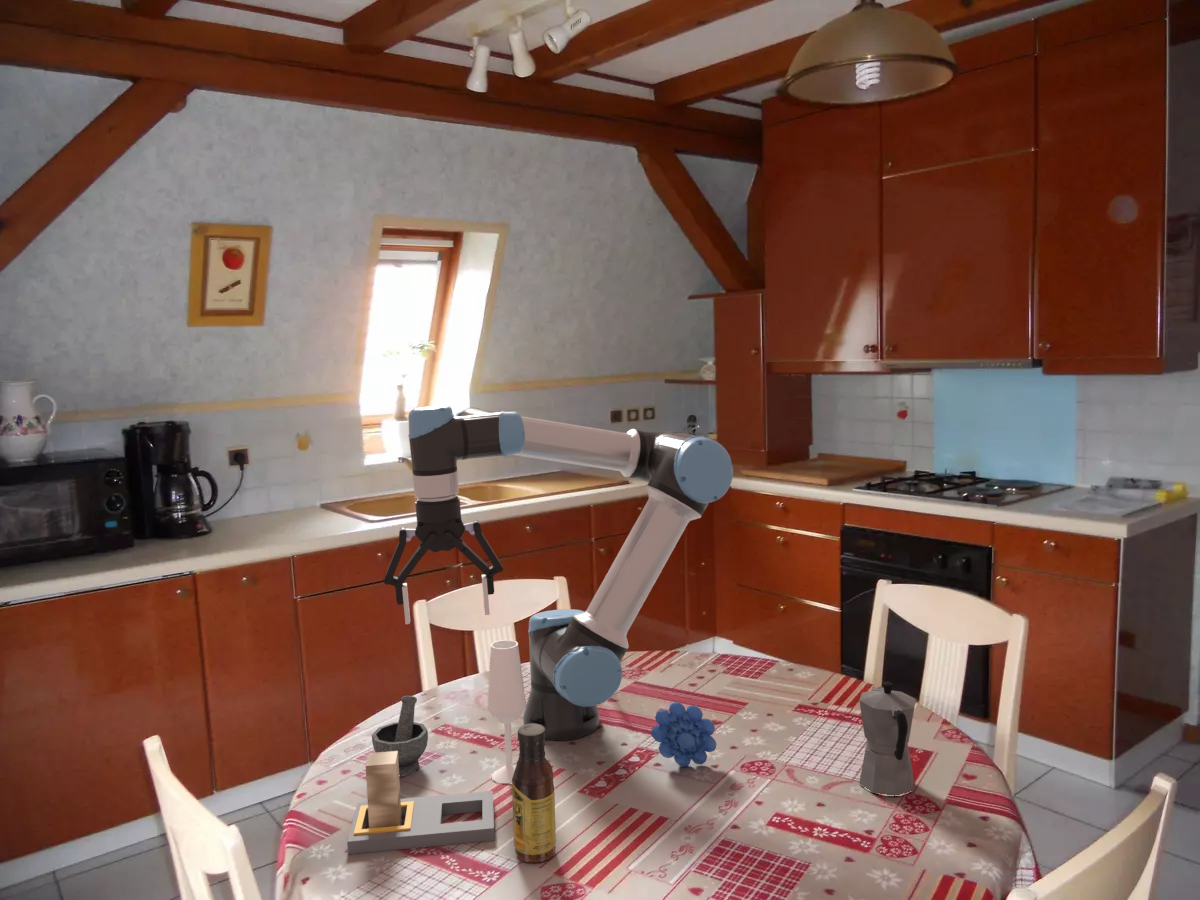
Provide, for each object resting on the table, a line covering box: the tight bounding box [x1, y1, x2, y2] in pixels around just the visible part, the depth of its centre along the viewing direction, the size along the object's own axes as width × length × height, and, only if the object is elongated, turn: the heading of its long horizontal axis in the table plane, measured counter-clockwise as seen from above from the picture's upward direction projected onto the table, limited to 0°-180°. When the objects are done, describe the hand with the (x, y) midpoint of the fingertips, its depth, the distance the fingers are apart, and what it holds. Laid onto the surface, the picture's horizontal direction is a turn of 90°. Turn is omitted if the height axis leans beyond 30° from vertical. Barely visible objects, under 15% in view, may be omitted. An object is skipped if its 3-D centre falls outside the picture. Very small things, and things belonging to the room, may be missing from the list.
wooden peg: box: [365, 751, 403, 829], centre depth 145 cm, size 4×4×12 cm
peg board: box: [346, 790, 496, 855], centre depth 147 cm, size 22×12×2 cm, turn 97°
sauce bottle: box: [511, 724, 557, 864], centre depth 137 cm, size 6×6×20 cm
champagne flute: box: [487, 639, 527, 783], centre depth 162 cm, size 7×7×24 cm
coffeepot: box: [858, 681, 917, 796], centre depth 154 cm, size 15×9×18 cm, turn 0°
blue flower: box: [650, 701, 717, 768], centre depth 163 cm, size 12×7×12 cm, turn 93°
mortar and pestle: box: [371, 695, 429, 777], centre depth 167 cm, size 11×9×12 cm
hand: (447, 617), depth 161 cm, fingers open, 13 cm apart
